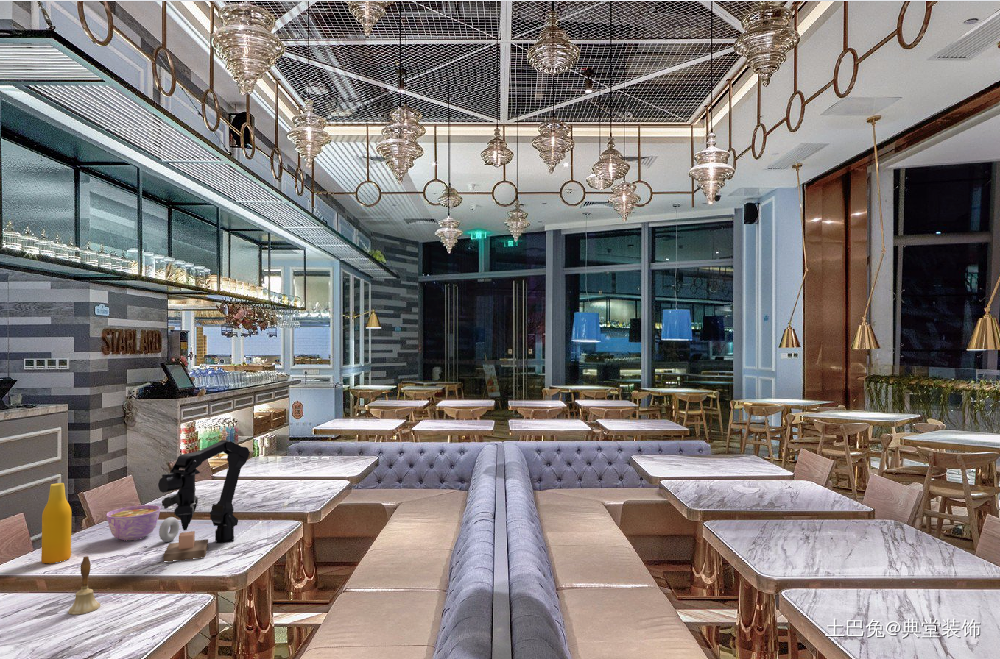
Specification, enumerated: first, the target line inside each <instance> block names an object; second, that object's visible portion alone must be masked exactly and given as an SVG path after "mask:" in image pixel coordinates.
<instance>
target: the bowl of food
mask: <svg viewBox="0 0 1000 659" xmlns="http://www.w3.org/2000/svg"><path fill="white" fill-rule="evenodd" d="M160 512H161V506H159V505H156V504H154V505H153V504H141V505H132V506H124V507H121V508H117V509H113V510H110V511H108V512H107V513H106V520H107V523H108V527H109V531H110V533H111V535H112V537H114V538H116V539H119V540H122V541H123V540H124V541H123V542H128V541H127V540H134V541H137V540H136V539H139V540H141V539H140V538H142V539H143V537H144V536H145V537H146V536H149V535H150V534H151V533H153V531H154V530H155V528H156V526H157V524H158V520H159V516H160ZM145 537H144V538H145ZM125 540H126V541H125Z"/></svg>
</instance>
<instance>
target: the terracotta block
mask: <svg viewBox="0 0 1000 659" xmlns="http://www.w3.org/2000/svg"><path fill="white" fill-rule="evenodd" d="M195 532H196V531H193V530H192V531H183V532H180V533H179V535H178V542H179V549H186V548H193V546H194V544H195V541H196V540H195V538H196V537H195V535H196V533H195Z"/></svg>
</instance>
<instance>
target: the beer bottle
mask: <svg viewBox="0 0 1000 659" xmlns="http://www.w3.org/2000/svg"><path fill="white" fill-rule="evenodd" d="M45 504H46V505H45V506H44V509H43V511H42V515H41V555H40V560H41V563H42V564H43V563H55V562H60V561H64V560H66V561H68V560H70V559H71V557H72V514H73V513H72V507H71V505H70V504H69V502H68V500H67V497H66V487H65V483H64V482H57V483H52V484H50V488H49V492H48V501H47V502H46V503H45ZM69 558H70V559H69ZM67 559H68V560H67ZM64 562H65V561H64ZM60 563H61V562H60ZM55 564H56V563H55Z"/></svg>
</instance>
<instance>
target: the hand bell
mask: <svg viewBox="0 0 1000 659" xmlns="http://www.w3.org/2000/svg"><path fill="white" fill-rule="evenodd" d="M89 558H90V556H88V555H85V556H83V559H82V561H81V562H80V563H81V564H80V574H81V588H80V589H79V591H77V592H76V593H75V599H74V602H73V604H72V606H71V607H69V609H68V611H67V613H68V614H69V615H75V616H76V615H84V614H88V613H92V612H94V611H96V610H98V609H99V608H101V602H98V601H97V599H96V598H95V592H94V589H92V588H89V575H90V572H91V565H92V564H91V561H90V559H89Z"/></svg>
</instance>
